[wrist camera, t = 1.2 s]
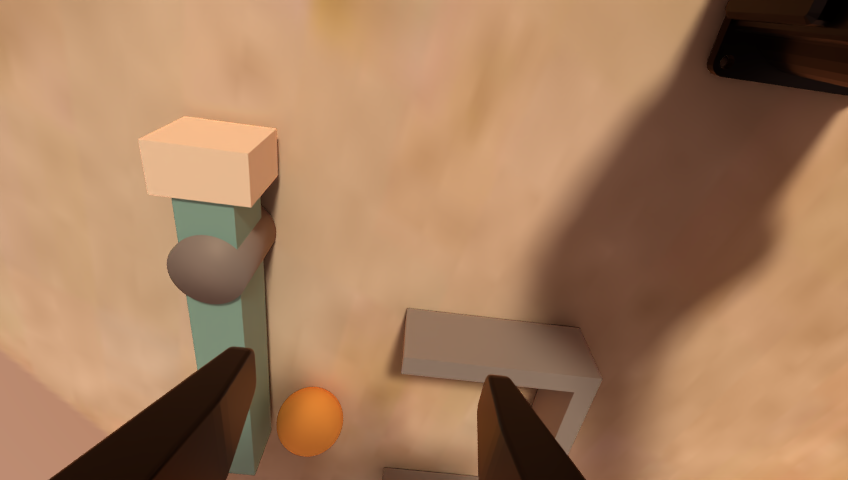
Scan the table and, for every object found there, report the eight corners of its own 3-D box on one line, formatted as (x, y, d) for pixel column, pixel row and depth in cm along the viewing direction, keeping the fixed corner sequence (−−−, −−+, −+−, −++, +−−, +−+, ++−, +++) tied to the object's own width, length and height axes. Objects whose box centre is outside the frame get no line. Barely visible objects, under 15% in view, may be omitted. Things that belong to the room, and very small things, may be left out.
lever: (190, 113, 18) (136, 140, 15) (280, 125, 18) (246, 154, 15) (226, 415, 27) (196, 475, 23) (286, 421, 27) (266, 481, 24)
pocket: (579, 328, 23) (602, 378, 20) (516, 489, 30) (526, 546, 27) (407, 308, 23) (403, 357, 20) (382, 476, 29) (376, 533, 26)
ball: (349, 376, 25) (338, 430, 22) (346, 418, 27) (335, 474, 24) (286, 370, 25) (266, 423, 22) (287, 412, 27) (268, 467, 23)
